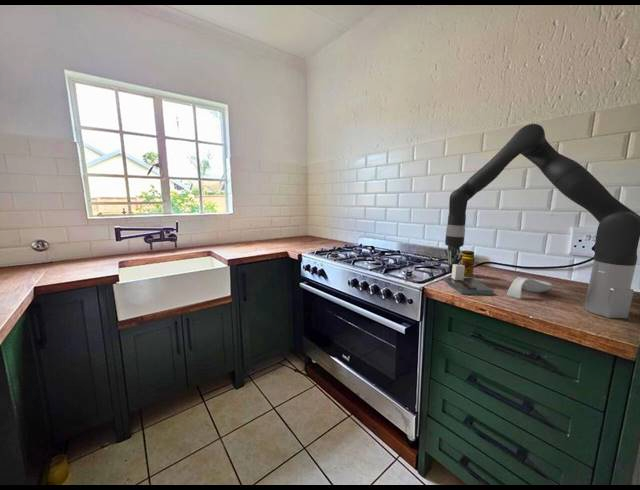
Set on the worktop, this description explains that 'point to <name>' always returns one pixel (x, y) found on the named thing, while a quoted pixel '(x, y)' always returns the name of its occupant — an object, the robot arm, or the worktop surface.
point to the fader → (458, 272)
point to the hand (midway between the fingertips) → (451, 272)
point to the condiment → (468, 263)
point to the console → (469, 286)
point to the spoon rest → (527, 286)
